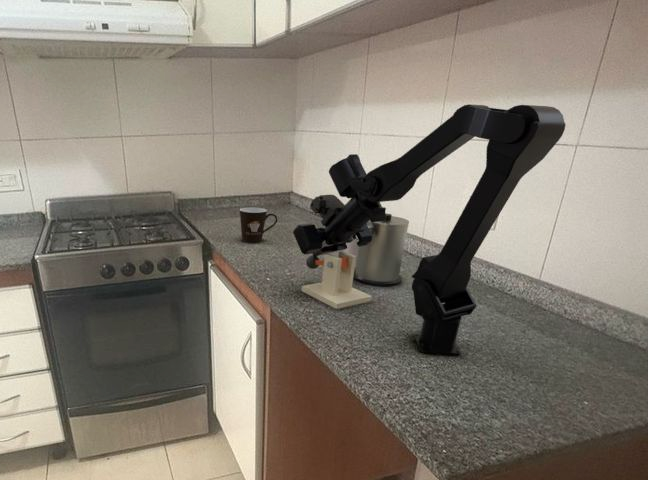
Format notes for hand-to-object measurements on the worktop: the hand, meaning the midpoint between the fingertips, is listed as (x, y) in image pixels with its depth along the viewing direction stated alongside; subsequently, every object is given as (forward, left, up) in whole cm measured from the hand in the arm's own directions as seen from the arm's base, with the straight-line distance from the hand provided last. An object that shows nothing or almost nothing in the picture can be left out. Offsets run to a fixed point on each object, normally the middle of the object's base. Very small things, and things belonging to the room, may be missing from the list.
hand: (314, 254), depth 103 cm
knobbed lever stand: (-7, -5, -8) cm, 12 cm away
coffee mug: (+39, +17, -8) cm, 43 cm away
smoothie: (+17, -11, -8) cm, 22 cm away
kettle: (+7, -16, -8) cm, 19 cm away
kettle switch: (-4, -3, -2) cm, 5 cm away
